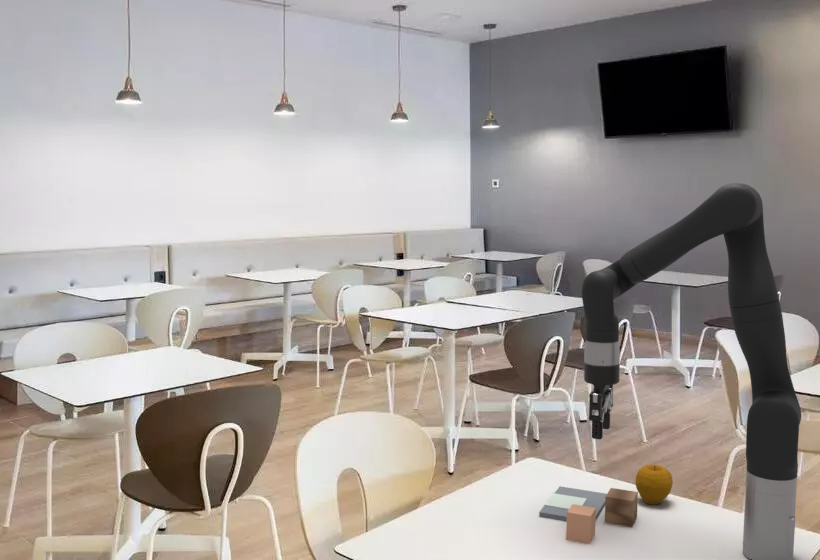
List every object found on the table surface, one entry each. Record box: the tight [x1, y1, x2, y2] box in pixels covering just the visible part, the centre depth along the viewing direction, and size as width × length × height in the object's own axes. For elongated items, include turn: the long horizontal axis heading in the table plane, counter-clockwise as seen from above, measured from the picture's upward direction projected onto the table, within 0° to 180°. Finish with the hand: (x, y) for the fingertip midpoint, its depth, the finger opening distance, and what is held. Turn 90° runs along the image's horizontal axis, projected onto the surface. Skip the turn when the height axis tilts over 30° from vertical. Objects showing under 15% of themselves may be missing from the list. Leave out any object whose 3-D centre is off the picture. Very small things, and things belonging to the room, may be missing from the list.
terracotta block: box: [565, 504, 597, 545], centre depth 171 cm, size 5×5×6 cm
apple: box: [635, 463, 674, 505], centre depth 191 cm, size 9×8×9 cm
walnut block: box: [604, 487, 639, 528], centre depth 180 cm, size 6×6×6 cm
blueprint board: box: [538, 485, 607, 522], centre depth 188 cm, size 12×18×1 cm, turn 155°
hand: (601, 433), depth 178 cm, fingers open, 8 cm apart
